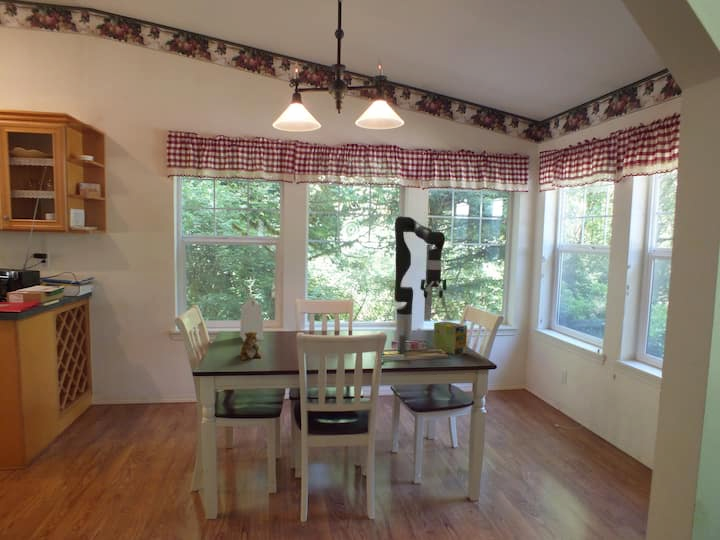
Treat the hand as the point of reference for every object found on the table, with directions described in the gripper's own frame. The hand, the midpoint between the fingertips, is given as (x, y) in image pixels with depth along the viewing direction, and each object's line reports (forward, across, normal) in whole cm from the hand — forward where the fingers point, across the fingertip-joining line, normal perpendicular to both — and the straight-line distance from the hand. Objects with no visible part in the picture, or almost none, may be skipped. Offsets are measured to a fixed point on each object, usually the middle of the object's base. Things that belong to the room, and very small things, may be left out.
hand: (433, 297), depth 244 cm
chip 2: (+30, +24, +10) cm, 39 cm away
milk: (+30, +97, -45) cm, 111 cm away
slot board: (+30, +9, +10) cm, 33 cm away
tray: (+30, +27, +10) cm, 42 cm away
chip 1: (+30, +28, +10) cm, 42 cm away
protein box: (+30, -10, +1) cm, 32 cm away
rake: (+29, +21, +10) cm, 37 cm away
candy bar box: (+27, +4, -4) cm, 27 cm away
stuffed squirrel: (+30, +98, -7) cm, 103 cm away
